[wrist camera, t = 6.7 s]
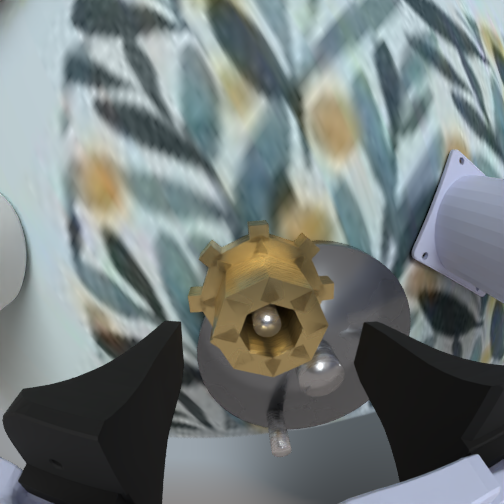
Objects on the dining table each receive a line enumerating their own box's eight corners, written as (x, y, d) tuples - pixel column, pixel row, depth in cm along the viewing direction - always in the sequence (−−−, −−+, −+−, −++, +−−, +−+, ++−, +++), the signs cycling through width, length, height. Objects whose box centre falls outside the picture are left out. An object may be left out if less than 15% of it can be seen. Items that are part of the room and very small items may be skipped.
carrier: (433, 285, 18) (473, 312, 14) (339, 428, 21) (355, 468, 17) (250, 201, 16) (259, 214, 11) (173, 391, 19) (164, 440, 15)
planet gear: (344, 247, 16) (382, 275, 12) (296, 356, 17) (313, 406, 13) (216, 204, 15) (210, 218, 10) (179, 327, 16) (166, 376, 12)
